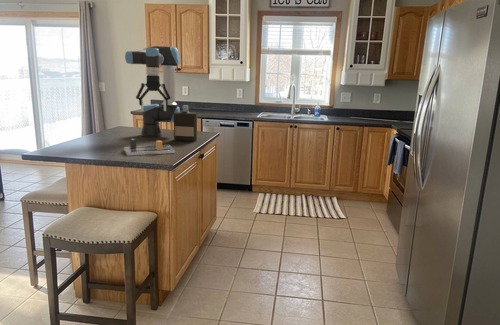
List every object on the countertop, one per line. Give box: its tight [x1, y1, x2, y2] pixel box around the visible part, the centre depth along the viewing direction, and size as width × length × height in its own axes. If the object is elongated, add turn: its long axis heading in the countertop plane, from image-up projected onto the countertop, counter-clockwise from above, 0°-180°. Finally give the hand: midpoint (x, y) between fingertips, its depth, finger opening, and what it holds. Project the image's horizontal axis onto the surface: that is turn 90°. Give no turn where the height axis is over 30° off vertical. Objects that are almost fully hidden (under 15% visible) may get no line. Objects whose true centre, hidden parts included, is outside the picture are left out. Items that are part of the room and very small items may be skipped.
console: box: [123, 144, 176, 157], centre depth 219 cm, size 15×28×2 cm, turn 114°
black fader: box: [129, 138, 137, 148], centre depth 218 cm, size 4×3×5 cm
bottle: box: [173, 104, 198, 143], centre depth 254 cm, size 8×16×25 cm, turn 88°
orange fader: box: [155, 140, 163, 150], centre depth 216 cm, size 4×3×5 cm
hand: (153, 110), depth 218 cm, fingers open, 13 cm apart
